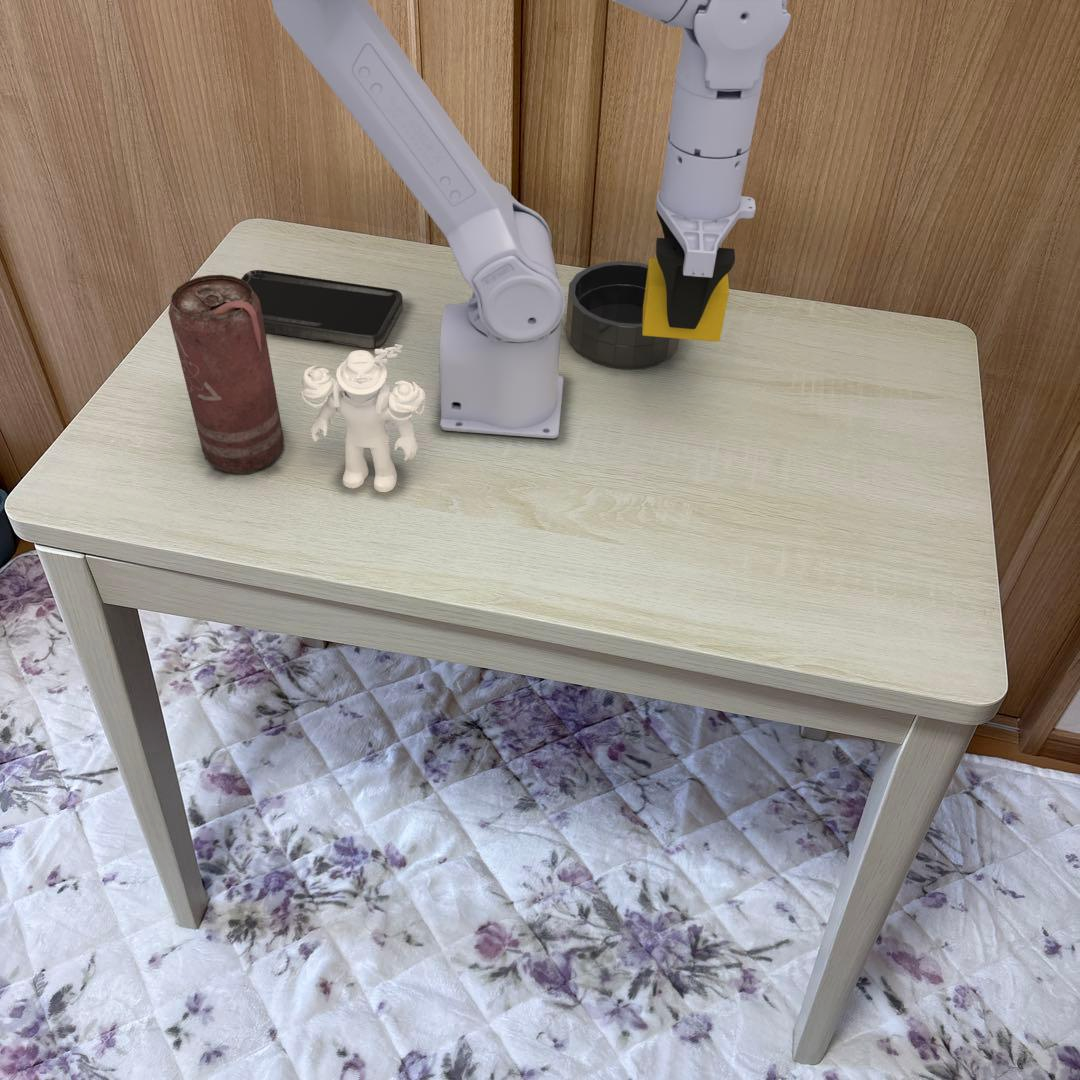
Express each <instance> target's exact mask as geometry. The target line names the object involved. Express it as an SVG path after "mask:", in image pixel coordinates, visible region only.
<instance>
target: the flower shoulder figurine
mask: <svg viewBox="0 0 1080 1080" xmlns="http://www.w3.org/2000/svg"><path fill="white" fill-rule="evenodd" d="M403 347H404V345H403V344H397V343H395V344H394V346H391V347H385V348H384V349H383V347H381V348H374V354H375V355H376V356H374V355H373V354H372V353H371V352H370V351H368V350H364V349H359V350H353V351H351V352H350V353H349V354H347V358H346V359H345V360H343V361H342V362H341V363H340V364H339V366H338V367H337V368H336V370H335V376H336V378H335V377H332V375H331V374H330V371H329V369H328V368H325V367H319V365H313V366H309V367H307V368H305V370H304V371H303V374H302V379H301V385H302V391H301V392H300V396H301V397H302V400H303V401H304V402H305V403H306V404H307V406H309V407H310V408H312V409H314V410H319V412H318V414H317V416H316V418H315V419H314V422H313V425H312V427H311V428H310V436H311V439H312V440H313V441H314V442H315V443H316V442H317V441H319V440H320V438H321V437H322V435H323V436H324V437H327V435H328V432H329V427H330V425H331V418H333V417H334V415H336V413H338V414H340V415H341V417H343V419H344V421H345V425H346V430H345V436H344V438H345V440H344V441H345V442H344V463H345V464H344V466H345V469H344V472H343V476H342V484H343V486H344V487H345V488H348V489H357V488H359V487H361V486H362V485H363V484H364V483H365V479H367V477H368V476H369V472H370V471H369V467H368V464H367V461H366V459H365V457H364V451H365V449H366V448H367V449H369V450H370V454H371V457H372V462H373V466H374V471H375V473H374V475H375V476H374V479H373V488H374V490H376V491H377V492H379V493H387V492H390V491H393V489H394V488H395V487H396V486H397V480H398V474H397V469H396V467H395V463H394V461H393V460H392V457H391V448H390V441H391V439H390V435H389V433H388V431H387V427H386V424H388V423H390V422H393V423H394V424H395V425H396V428H397V430H398V433H399V435H400V436H399V437H398V438H397V439H396V441H395V444H394V448H393V449H394V451H398V449H399V448H402V450H403V452H404V458H403V460H404V462H406V461H409V460H411V461H412V460H413V459H414V458H415V457H416V455H417V454H418V451H419V448H420V447H419V444H418V442H417V439H416V434H415V430H414V424H413V421H412V419H411V418H412V417H413V414H414V412H415V413H416V414H417V415H418V417H422V416H423V415H424V411H425V399H426V394H425V390H424V389H423V388H422V387H420V386H419V385H418V384H417V383H416V382H415V381H413V380H412V383H411V382H408V381H406V380H399V381H395V383H394V385H395V386H394V388H393V390H391V387H390V385H388V384H387V383H386V380H387V378H388V377H387V375H388V373H387V372H388V371H387V367H386V366H385V364H388V359H389V358H397V357H398V353H402V351H403V350H402V348H403ZM400 349H401V350H400ZM395 352H396V353H395ZM316 367H319V368H316ZM315 368H316V369H315ZM306 397H307V398H309V399H313V400H318V399H324V400H323V401H322V402H321V403H316V404H315V403H312V402H310V401H308V400H307V399H306ZM421 406H422V409H421V410H420V411H418V409H419V408H420V407H421ZM409 414H410V415H409Z"/></svg>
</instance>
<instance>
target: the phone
mask: <svg viewBox="0 0 1080 1080" xmlns="http://www.w3.org/2000/svg"><path fill="white" fill-rule="evenodd" d="M241 279H242V280H244V281H245V282H246V283H248V284H249V285H250V287H251V289H252V290H253V291H254V292H255V294H256V295H257V297H258V299H259V301H260V305H261V311H262V316H263V322H264V328H265V333H268V334H275V335H281V336H288V337H294V338H295V337H296V338H302V339H307V340H315V341H320V342H327V343H335V344H340V345H347V346H354V347H360V348H367V349H377V348H379V347H381V346H383V345H384V343H385V342H386V340H387V339H388V337H389V336H390V333H391V331H392V329H393V327H394V326H395V323H396V322H397V320H398V317H399V316H400V314H401V313H402V311H403V308H404V301H403V294H402V292H400V291H399V290H397V289H393V288H385V287H380V286H379V287H378V286H373V285H365V284H359V283H351V282H346V281H345V282H344V281H339V280H338V281H337V280H332V279H324V278H318V277H311V276H304V275H298V274H291V273H283V272H276V271H270V270H263V269H252V270H249V271H247V272H245V274H244V275H243V276H242V277H241Z"/></svg>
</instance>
